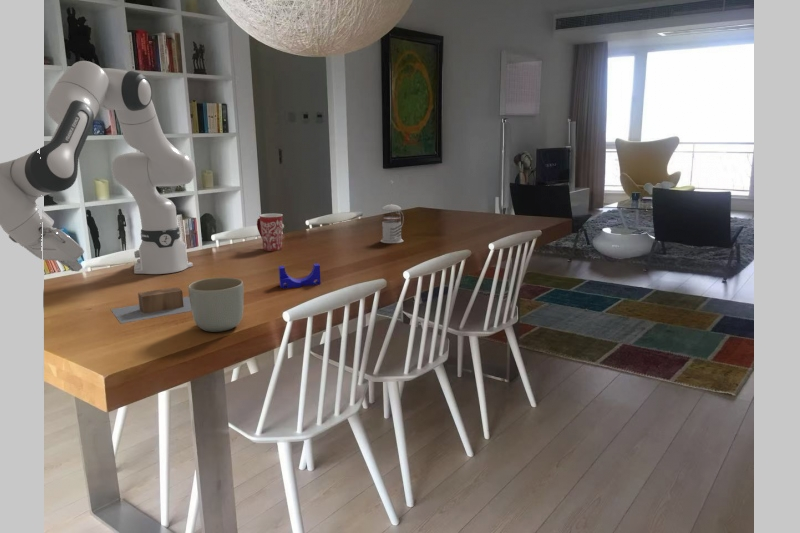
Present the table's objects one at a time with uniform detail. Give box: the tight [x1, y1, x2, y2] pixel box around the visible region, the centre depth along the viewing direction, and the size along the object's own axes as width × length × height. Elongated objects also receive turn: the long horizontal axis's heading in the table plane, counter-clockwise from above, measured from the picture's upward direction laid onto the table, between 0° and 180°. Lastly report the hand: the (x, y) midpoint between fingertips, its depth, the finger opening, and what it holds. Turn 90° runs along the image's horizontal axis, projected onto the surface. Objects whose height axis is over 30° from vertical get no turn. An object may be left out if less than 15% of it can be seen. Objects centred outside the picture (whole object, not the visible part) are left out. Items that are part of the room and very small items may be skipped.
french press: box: [380, 180, 405, 244], centre depth 243 cm, size 10×12×25 cm
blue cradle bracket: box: [278, 263, 321, 289], centre depth 177 cm, size 12×4×6 cm, turn 106°
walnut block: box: [137, 286, 184, 314], centre depth 154 cm, size 4×4×10 cm
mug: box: [256, 212, 284, 252], centre depth 230 cm, size 13×9×14 cm
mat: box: [110, 295, 192, 324], centre depth 155 cm, size 14×22×1 cm, turn 125°
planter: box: [187, 276, 244, 333], centre depth 140 cm, size 12×12×11 cm
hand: (77, 269), depth 143 cm, fingers closed
